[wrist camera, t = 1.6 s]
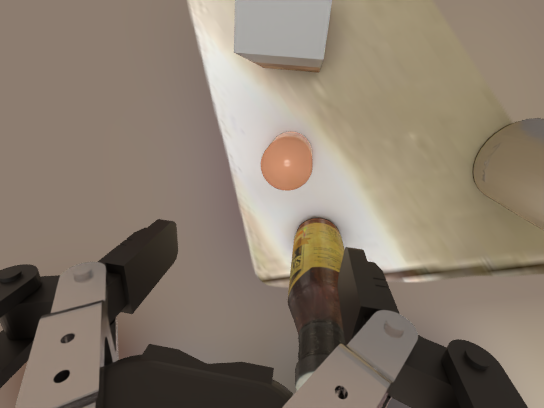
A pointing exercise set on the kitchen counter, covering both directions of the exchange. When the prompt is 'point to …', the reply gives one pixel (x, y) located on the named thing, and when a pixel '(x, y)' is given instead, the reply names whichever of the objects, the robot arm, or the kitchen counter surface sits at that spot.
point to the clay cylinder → (287, 161)
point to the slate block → (282, 31)
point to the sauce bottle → (315, 294)
